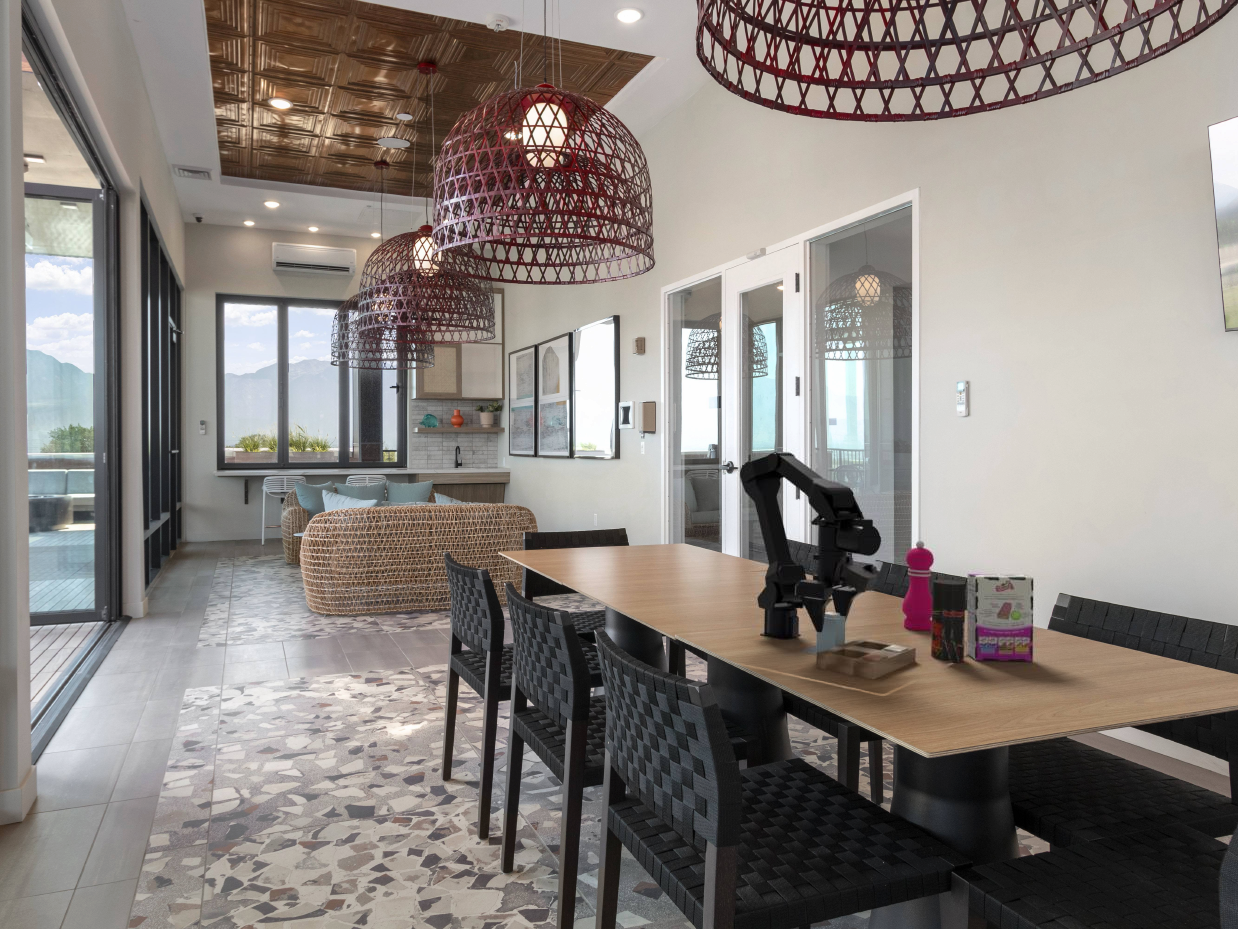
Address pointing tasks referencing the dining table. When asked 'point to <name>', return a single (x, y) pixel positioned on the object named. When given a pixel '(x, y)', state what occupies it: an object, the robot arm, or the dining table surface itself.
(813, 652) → the pad
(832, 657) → the socket block
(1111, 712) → the dining table surface
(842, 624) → the plug
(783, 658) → the dining table surface
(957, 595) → the deodorant
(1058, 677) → the dining table surface
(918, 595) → the pepper mill
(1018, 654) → the candy bar box
